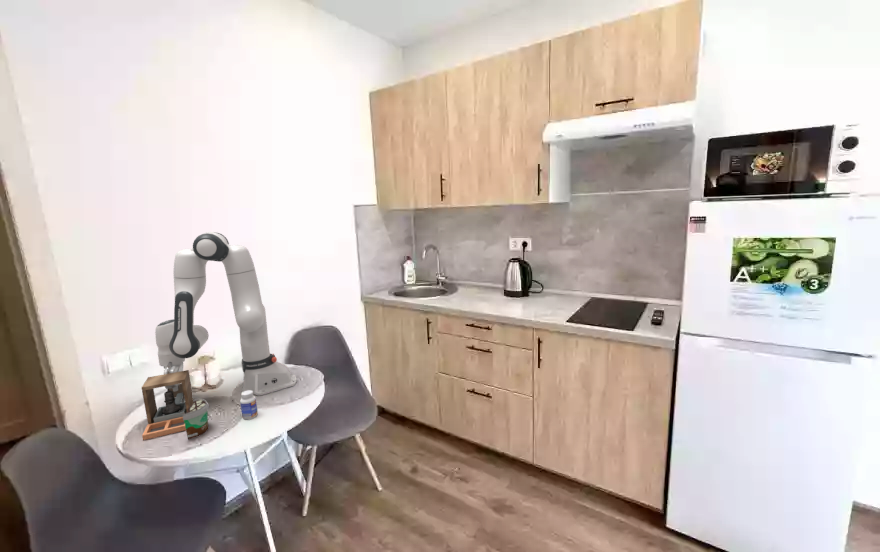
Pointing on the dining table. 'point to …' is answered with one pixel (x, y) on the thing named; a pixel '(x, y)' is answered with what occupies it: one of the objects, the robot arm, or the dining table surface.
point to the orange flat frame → (164, 428)
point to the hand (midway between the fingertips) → (176, 389)
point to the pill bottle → (248, 405)
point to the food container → (196, 418)
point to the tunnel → (161, 382)
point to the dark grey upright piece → (170, 403)
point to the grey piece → (178, 399)
